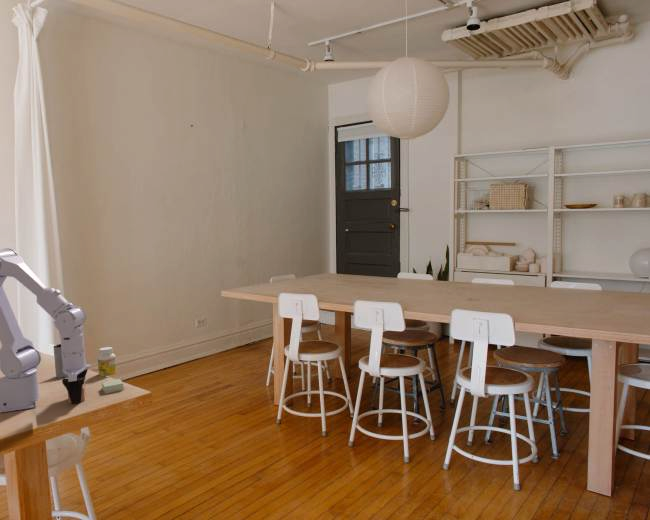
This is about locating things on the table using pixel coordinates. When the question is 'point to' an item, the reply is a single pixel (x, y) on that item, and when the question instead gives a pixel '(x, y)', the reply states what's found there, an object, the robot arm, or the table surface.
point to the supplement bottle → (107, 362)
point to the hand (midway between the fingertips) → (77, 399)
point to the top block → (112, 386)
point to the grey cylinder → (58, 361)
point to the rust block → (82, 394)
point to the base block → (110, 392)
